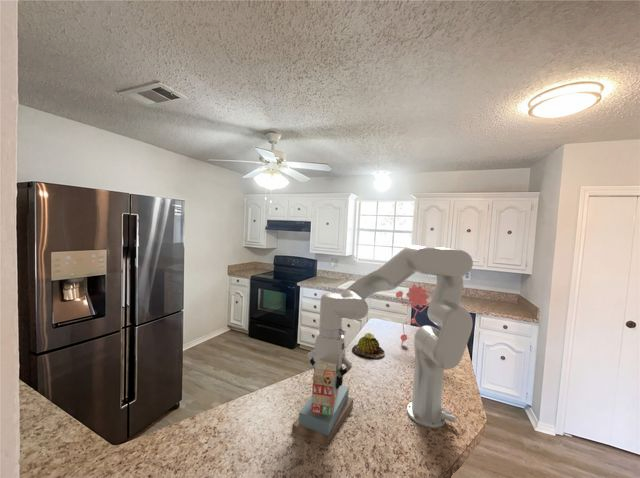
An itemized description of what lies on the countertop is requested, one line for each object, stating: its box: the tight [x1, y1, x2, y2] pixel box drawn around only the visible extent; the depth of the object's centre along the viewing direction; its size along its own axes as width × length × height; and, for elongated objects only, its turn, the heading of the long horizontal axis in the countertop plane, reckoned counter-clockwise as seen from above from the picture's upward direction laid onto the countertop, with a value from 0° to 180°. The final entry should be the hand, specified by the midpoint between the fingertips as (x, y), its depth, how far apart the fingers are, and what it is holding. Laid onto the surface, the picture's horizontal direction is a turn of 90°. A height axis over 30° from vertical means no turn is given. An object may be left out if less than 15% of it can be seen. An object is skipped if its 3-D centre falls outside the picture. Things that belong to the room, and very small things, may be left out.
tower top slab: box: [298, 384, 350, 436], centre depth 90 cm, size 10×20×4 cm, turn 157°
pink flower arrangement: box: [395, 284, 431, 346], centre depth 152 cm, size 15×26×35 cm, turn 44°
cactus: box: [351, 332, 386, 359], centre depth 142 cm, size 17×16×10 cm
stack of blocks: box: [311, 360, 338, 416], centre depth 89 cm, size 21×6×12 cm, turn 168°
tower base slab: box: [291, 396, 354, 448], centre depth 90 cm, size 12×22×4 cm, turn 153°
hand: (327, 382), depth 89 cm, fingers closed on stack of blocks, 7 cm apart
